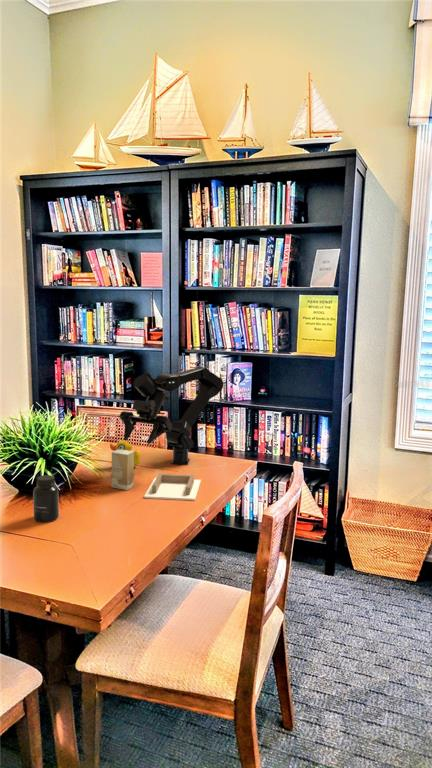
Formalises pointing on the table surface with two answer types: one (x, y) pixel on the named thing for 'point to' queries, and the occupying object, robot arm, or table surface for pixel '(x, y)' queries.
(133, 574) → the table surface
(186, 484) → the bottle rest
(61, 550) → the table surface
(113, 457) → the skincare box
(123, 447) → the duckling
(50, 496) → the supplement bottle
